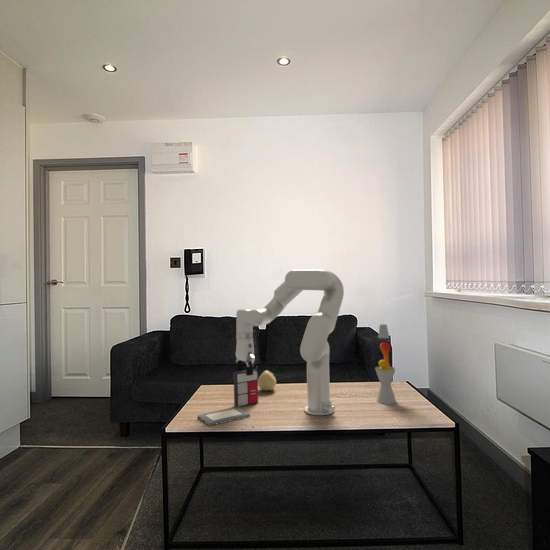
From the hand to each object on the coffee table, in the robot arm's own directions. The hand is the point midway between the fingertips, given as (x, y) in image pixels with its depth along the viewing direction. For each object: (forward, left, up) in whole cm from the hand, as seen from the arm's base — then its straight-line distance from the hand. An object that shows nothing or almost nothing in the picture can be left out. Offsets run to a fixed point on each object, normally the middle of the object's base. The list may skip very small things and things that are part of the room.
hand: (244, 373), depth 170 cm
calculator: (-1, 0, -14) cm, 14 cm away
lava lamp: (-37, -53, -14) cm, 66 cm away
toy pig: (+13, -20, -14) cm, 28 cm away
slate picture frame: (-11, +16, -14) cm, 24 cm away
